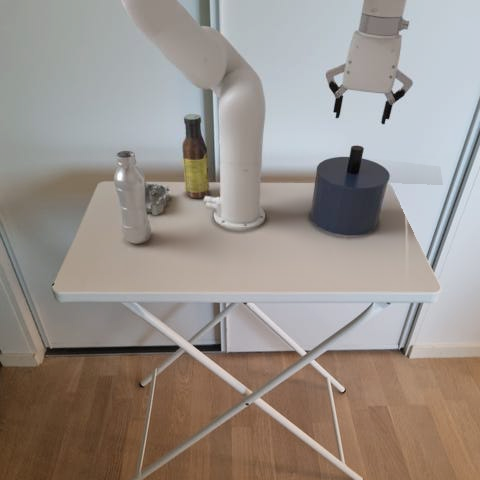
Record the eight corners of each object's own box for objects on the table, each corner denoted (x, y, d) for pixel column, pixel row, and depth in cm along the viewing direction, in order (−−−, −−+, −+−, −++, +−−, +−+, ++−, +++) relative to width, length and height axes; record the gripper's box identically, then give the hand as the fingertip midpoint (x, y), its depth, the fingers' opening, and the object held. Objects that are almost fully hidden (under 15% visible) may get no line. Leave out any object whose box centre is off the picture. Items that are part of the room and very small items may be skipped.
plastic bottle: (137, 228, 109) (125, 145, 96) (158, 238, 107) (148, 153, 93) (117, 240, 106) (101, 155, 92) (138, 250, 103) (125, 164, 89)
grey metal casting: (161, 217, 114) (159, 202, 111) (132, 214, 115) (129, 199, 112) (172, 196, 122) (171, 181, 119) (145, 193, 122) (143, 179, 120)
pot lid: (311, 187, 102) (315, 158, 98) (320, 157, 114) (324, 130, 110) (387, 197, 99) (395, 167, 95) (389, 166, 111) (396, 138, 107)
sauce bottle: (213, 196, 122) (211, 118, 109) (192, 201, 120) (188, 123, 106) (201, 186, 126) (198, 110, 113) (181, 191, 124) (175, 114, 110)
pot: (306, 231, 110) (312, 184, 102) (315, 200, 122) (321, 155, 114) (375, 241, 107) (387, 194, 99) (377, 208, 119) (388, 164, 111)
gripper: (426, 26, 88) (401, 118, 100) (335, 18, 91) (322, 108, 103) (427, 34, 83) (401, 130, 94) (331, 25, 86) (317, 119, 97)
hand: (360, 119), depth 98 cm, fingers open, 9 cm apart
